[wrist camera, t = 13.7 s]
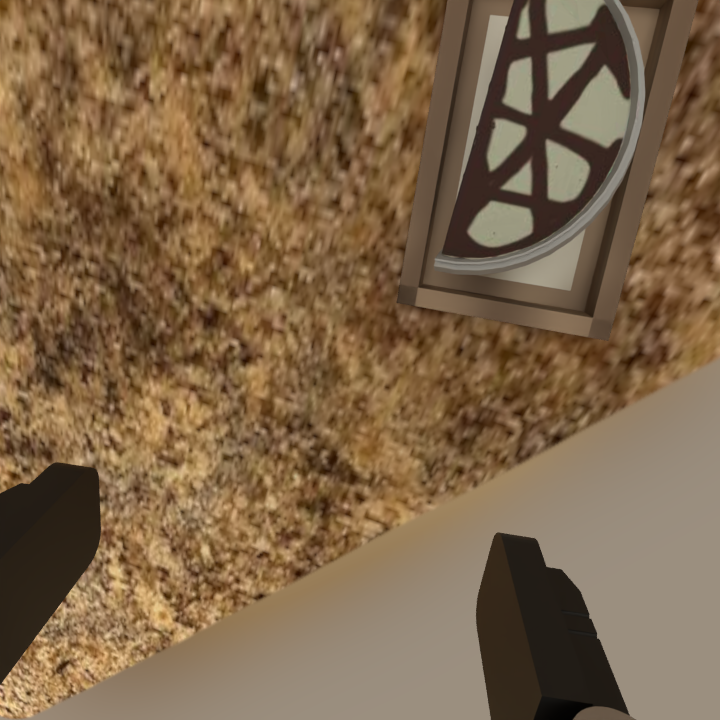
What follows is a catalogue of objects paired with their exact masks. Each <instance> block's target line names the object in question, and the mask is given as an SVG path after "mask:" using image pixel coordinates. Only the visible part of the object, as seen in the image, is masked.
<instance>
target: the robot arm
mask: <svg viewBox="0 0 720 720" xmlns="http://www.w3.org/2000/svg"><path fill="white" fill-rule="evenodd" d="M100 534H101V523H100V495H99V476H98V472H97V470H96V469H94V468H90V467H84V466H78V465H71V464H65V463H58V462H56V463H53V464H51V465H50V466H49V467H48V468H47V469H46V470H44V471H43V472H42V473H41V474H40V475H39V476H38V477H37V478H36V479H35V480H34V481H32V482H31V483H30V484H24V483H21V484H19V485H17V486H14V487H12V488H10V489H8V490H6V491H4V492H2V493H0V684H1V683H2V682H3V680H4V679H5V678H6V676H7V675H8V674H9V672H10V671H11V670H12V668H13V667H14V666H15V664H16V663H17V661H18V660H19V659H20V657H21V656H22V655H23V653H24V652H25V651H26V649H27V648H28V647H29V645H30V644H31V643H32V641H33V640H34V639H35V637H36V636H37V635H38V633H39V632H40V631H41V629H42V628H43V627H44V625H45V624H46V623H47V621H48V620H49V618H50V617H51V616H52V614H53V613H54V612H55V610H56V609H57V608H58V606H59V605H60V604H61V602H62V601H63V600H64V598H65V597H66V596H67V594H68V593H69V592H70V590H71V589H72V588H73V586H74V585H75V584H76V582H77V581H78V579H79V578H80V577H81V575H82V574H83V573H84V571H85V570H86V569H87V567H88V566H89V565H90V563H91V562H92V560H93V558H94V556H95V554H96V551H97V548H98V545H99V541H100ZM476 624H477V632H478V638H479V644H480V651H481V658H482V664H483V670H484V677H485V683H486V690H487V696H488V703H489V709H490V716H491V720H635V719H634V718H632V717H631V716H630V715H629V713H628V710H627V707H626V705H625V702H624V700H623V698H622V695H621V692H620V690H619V687H618V685H617V682H616V680H615V677H614V675H613V673H612V670H611V668H610V665H609V663H608V660H607V657H606V655H605V652H604V650H603V647H602V645H601V642H600V640H599V639H597V632H596V630H595V627H594V625H593V622H592V620H591V619H589V612H588V610H587V607H586V605H585V602H584V600H583V597H582V594H581V592H580V591H579V589H578V588H577V587H576V586H575V585H574V584H573V582H572V581H571V580H570V579H569V578H568V576H567V575H566V574H565V573H564V572H563V571H562V570H561V569H555V568H549V567H546V565H545V562H544V558H543V555H542V552H541V550H540V547H539V544H538V541H537V540H536V539H535V538H529V537H523V536H517V535H510V534H504V533H496V535H495V536H494V539H493V541H492V545H491V548H490V552H489V556H488V560H487V563H486V567H485V571H484V574H483V578H482V582H481V585H480V589H479V593H478V598H477V608H476Z"/></svg>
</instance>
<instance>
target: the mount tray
mask: <svg viewBox="0 0 720 720" xmlns="http://www.w3.org/2000/svg"><path fill="white" fill-rule="evenodd" d="M513 1H514V0H448V1H447V7H446V13H445V19H444V25H443V31H442V37H441V43H440V49H439V55H438V61H437V66H436V72H435V78H434V84H433V90H432V96H431V102H430V108H429V114H428V120H427V126H426V132H425V138H424V144H423V150H422V156H421V161H420V167H419V173H418V179H417V185H416V191H415V197H414V203H413V209H412V215H411V221H410V227H409V233H408V239H407V245H406V251H405V256H404V262H403V268H402V274H401V280H400V286H399V292H398V298H397V303H401V304H406V305H412V306H418V307H423V308H429V309H434V310H440V311H445V312H451V313H457V314H462V315H468V316H473V317H479V318H484V319H490V320H495V321H501V322H507V323H512V324H518V325H523V326H529V327H534V328H540V329H546V330H551V331H557V332H562V333H568V334H573V335H579V336H584V337H590V338H596V339H601V340H607V341H608V340H609V337H610V333H611V329H612V325H613V321H614V318H615V314H616V310H617V306H618V303H619V299H620V295H621V291H622V287H623V284H624V280H625V276H626V272H627V268H628V265H629V261H630V257H631V253H632V250H633V246H634V242H635V238H636V234H637V231H638V227H639V223H640V219H641V215H642V212H643V208H644V204H645V200H646V196H647V193H648V189H649V185H650V181H651V178H652V174H653V170H654V166H655V162H656V159H657V155H658V151H659V147H660V143H661V140H662V136H663V132H664V128H665V125H666V121H667V117H668V113H669V109H670V106H671V102H672V98H673V94H674V90H675V87H676V83H677V79H678V75H679V71H680V68H681V64H682V60H683V56H684V53H685V49H686V45H687V41H688V37H689V34H690V30H691V26H692V22H693V18H694V15H695V11H696V7H697V3H698V0H619V1H620V2H621V4H622V6H623V7H624V9H625V11H626V12H627V14H628V15H629V18H630V21H631V23H632V26H633V28H634V31H635V33H636V36H637V38H638V41H639V46H640V51H641V55H642V60H643V65H644V78H645V102H644V110H643V119H642V125H641V129H640V133H639V137H638V141H637V144H636V148H635V152H634V155H633V158H632V160H631V162H630V165H629V167H628V169H627V172H626V174H625V176H624V178H623V181H622V182H621V184H620V186H619V187H618V189H617V190H616V192H615V193H614V195H613V197H612V198H611V200H610V201H609V203H608V204H607V206H606V207H605V208H604V209H603V210H602V211H601V213H600V214H599V215H598V216H597V217H596V218H595V220H594V221H593V222H592V223H591V224H590V225H589V226H588V227H587V228H586V229H584V230H583V231H582V232H581V233H580V234H579V235H578V236H576V237H575V238H574V239H573V240H572V241H571V242H569V243H567V244H566V245H564V246H563V247H561V248H560V249H558V250H557V251H555V252H553V253H552V254H550V255H549V256H546V257H544V258H542V259H540V260H538V261H535V262H533V263H531V264H529V265H526V266H523V267H519V268H516V269H512V270H509V271H505V272H500V273H492V274H484V275H458V274H451V273H445V272H439V271H435V270H434V264H435V258H436V256H437V255H438V254H439V252H440V251H441V249H442V248H443V246H444V242H445V239H446V235H447V231H448V228H449V224H450V220H451V217H452V213H453V210H454V206H455V203H456V199H457V196H458V192H459V189H460V185H461V182H462V179H463V174H464V172H465V169H466V165H467V162H468V159H469V155H470V152H471V148H472V145H473V141H474V138H475V134H476V126H478V123H479V120H480V116H481V113H482V109H483V106H484V102H485V99H486V95H487V92H488V87H489V83H490V82H491V78H492V75H493V71H494V68H495V64H496V61H497V57H498V53H499V50H500V46H501V42H502V39H503V35H504V32H505V27H506V25H507V22H508V18H509V15H510V12H511V8H512V5H513Z"/></svg>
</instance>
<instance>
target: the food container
mask: <svg viewBox="0 0 720 720" xmlns="http://www.w3.org/2000/svg"><path fill="white" fill-rule="evenodd" d="M644 102H645V78H644V65H643V60H642V55H641V51H640V46H639V41H638V38H637V36H636V33H635V31H634V28H633V26H632V23H631V21H630V18H629V15H628V14H627V12H626V11H625V9H624V7H623V6H622V4H621V2H620V1H619V0H514V1H513V5H512V8H511V12H510V15H509V18H508V22H507V25H506V27H505V32H504V35H503V39H502V42H501V46H500V50H499V53H498V57H497V61H496V64H495V68H494V71H493V75H492V78H491V82H490V83H489V87H488V92H487V95H486V99H485V102H484V106H483V109H482V113H481V116H480V120H479V123H478V126H476V134H475V138H474V141H473V145H472V148H471V152H470V155H469V159H468V162H467V165H466V169H465V172H464V174H463V179H462V182H461V185H460V189H459V192H458V196H457V199H456V203H455V206H454V210H453V213H452V217H451V220H450V224H449V228H448V231H447V235H446V239H445V242H444V246H443V248H442V249H441V251H440V252H439V254H438V255H437V256H436V258H435V264H434V270H435V271H439V272H445V273H451V274H458V275H484V274H492V273H500V272H505V271H509V270H512V269H516V268H519V267H523V266H526V265H529V264H531V263H533V262H535V261H538V260H540V259H542V258H544V257H546V256H549V255H550V254H552V253H553V252H555V251H557V250H558V249H560V248H561V247H563V246H564V245H566V244H567V243H569V242H571V241H572V240H573V239H574V238H575V237H576V236H578V235H579V234H580V233H581V232H582V231H583V230H584V229H586V228H587V227H588V226H589V225H590V224H591V223H592V222H593V221H594V220H595V218H596V217H597V216H598V215H599V214H600V213H601V211H602V210H603V209H604V208H605V207H606V206H607V204H608V203H609V201H610V200H611V198H612V197H613V195H614V193H615V192H616V190H617V189H618V187H619V186H620V184H621V182H622V181H623V178H624V176H625V174H626V172H627V169H628V167H629V165H630V162H631V160H632V158H633V155H634V152H635V148H636V144H637V141H638V137H639V133H640V129H641V125H642V119H643V110H644Z"/></svg>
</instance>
